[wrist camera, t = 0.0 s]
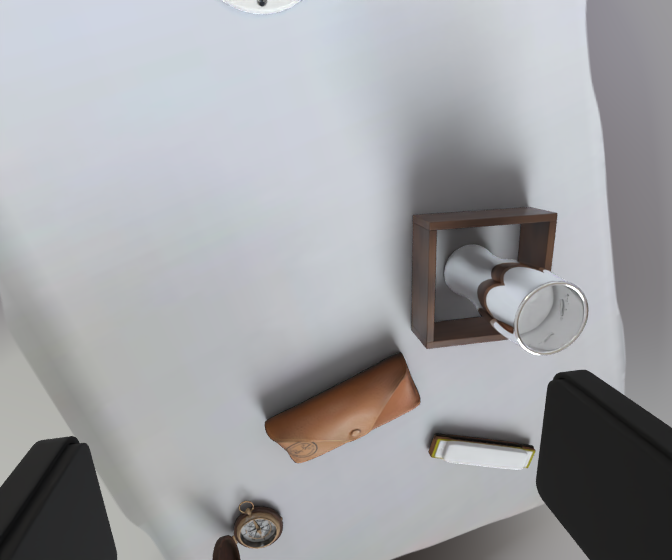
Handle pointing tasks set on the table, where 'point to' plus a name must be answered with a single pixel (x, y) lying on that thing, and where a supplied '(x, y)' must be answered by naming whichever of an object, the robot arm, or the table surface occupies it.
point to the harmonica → (481, 452)
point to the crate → (532, 249)
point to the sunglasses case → (345, 410)
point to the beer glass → (519, 299)
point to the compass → (250, 532)
